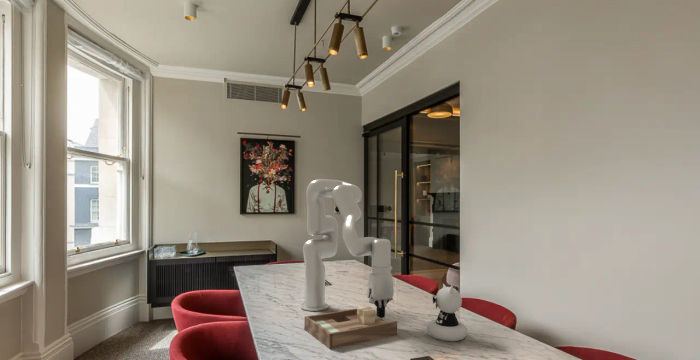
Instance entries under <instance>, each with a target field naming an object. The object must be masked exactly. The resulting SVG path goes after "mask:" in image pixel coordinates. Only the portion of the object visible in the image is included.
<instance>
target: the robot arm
mask: <svg viewBox="0 0 700 360" xmlns="http://www.w3.org/2000/svg"><path fill="white" fill-rule="evenodd" d="M305 194H306V195H305V197H306V205H307V206H306V207H307V210H306V211H307V212H306V213H307V214H306V230H307V234H308V235H310V236H312V237H319V236H321V237H322V238H321V237H320V238H312V239H308V240H306V241H305V242H304V244H303V246H302V254H303V260H304V290H303V291H304V297H303V300H304V303H301V304H300V308H301V309H302V310H303V311H308V312H319V311H323V310H327V309H328V308H329V304H328V303H327V302H326V301H325V300H326V268H325V264H324V262H323V259H328V258H332V257H335V255H336V254H337V252H338V247H339V223H338V220H337V219H336V217H334V216H333V215H329V214H327V215H326V204H325V201H324V198H326V199H327V198H328V199H329V198H330V199H332V198H333V200H334V202H335V205H336V207H337V209H338V211H339V213H340V216H341V218H342V220H343V223H342V228H341V229H342V230H341V232H342V239H343V242H344V244H345V246H346V248H347V250H348V251H349V253H350V255H352V256H353V257H356V258H360V257H367V256H371V273H369V276H368V281H367V290H366V292H367V294H366V296H367V298H368V303H369V304H373V305H374V306H375V307H376V317H378V318H380V319H384V318H386V308H387V306H388V305H387V304H388V303H389V302H391V301H393V300H394V299H393V298H394V292H395V291H394V278H393V274H392V270H393V269H394V268H393V266H392V265H391V261H392V260H391V258H392V257H391V256H392V254H391V253H392V251H391V249H392V248H391V247H392V246H391V244H392V243H391V241H390V239H387V238H377V237H374V236H366V237H365V236H364V237H359V235H358V233H357V230H356V228H355V227H356V226H355V223H356V221H358V220H359V219H360V218H362V214H363V213H362V210H361V207H360V206H359V205H358V203H360V202H361V201H362V198H363V192H362V190H361V188H360V187H359V186H357V185H355V184H353V183H352V184H351V183H350V182H347V181H343V180H339V179H326V178H319V179H318V178H317V179H315V180H312V181H310V183H309V184H308V186H307V188H306V193H305Z"/></svg>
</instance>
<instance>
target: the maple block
mask: <svg viewBox="0 0 700 360" xmlns="http://www.w3.org/2000/svg"><path fill="white" fill-rule="evenodd" d="M356 309H357V321H358V322H360V323H362V324H370V323H375V317H376V309H375V308H373V307H370V306H361V307H357V308H356Z"/></svg>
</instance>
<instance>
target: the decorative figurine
mask: <svg viewBox="0 0 700 360" xmlns="http://www.w3.org/2000/svg"><path fill="white" fill-rule="evenodd" d="M442 285H443V286H442V288H441V289H439V290H438V291H437V293H436V295H434V294H433V296H432V304H435V308H436V310H437V309H439V310H440V311H439V312H438V315H437V317H436V318H435V319H434V318H433V319H431V320H430V321H429V322H428V323H427V325H426V331H427V333H428V335H430V337H432V338H434V339H436V340H439V341H444V342H458V341H461V340H463V339H465V338H466V337H467V335H468V329H467V326H466V325H465V324H464V323H463V322H461V321H459V320H458V317H457V316H456V313H457V311H459V310H460V309H461V307H462V304H463V303H462V302H463V299H462V296H461V293H460V292H459V291H458V290H457V289H456V288H454V286H453V284H451V285H450V286H446V284H444V282H443V284H442Z"/></svg>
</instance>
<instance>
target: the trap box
mask: <svg viewBox="0 0 700 360" xmlns="http://www.w3.org/2000/svg"><path fill="white" fill-rule="evenodd" d="M303 327H304V331H306V332H307V333H308V334H309V335H311V336H312V337H314V338H315V339H316V340H318V342H320V343H321V344H322V345H324V347H327V348H328V349H329V350H333V349H339V348H343V347H347V346H353V345H357V344H361V343H362V344H363V343H367V342H373V341H376V340H377V341H378V340H381V339H386V338H392V337H395V336H397V337H398V321H396V320H395V321H390V322H388V321H385V320H383V318H380V317H378V316H375V323H370V324H362V323H360V322H358V321H357V308H352V309H351V308H350V309H346V310H345V309H344V310H339V311H332V312H325V313H319V314H312V315H307V316H306V315H305V316H304V325H303Z"/></svg>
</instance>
